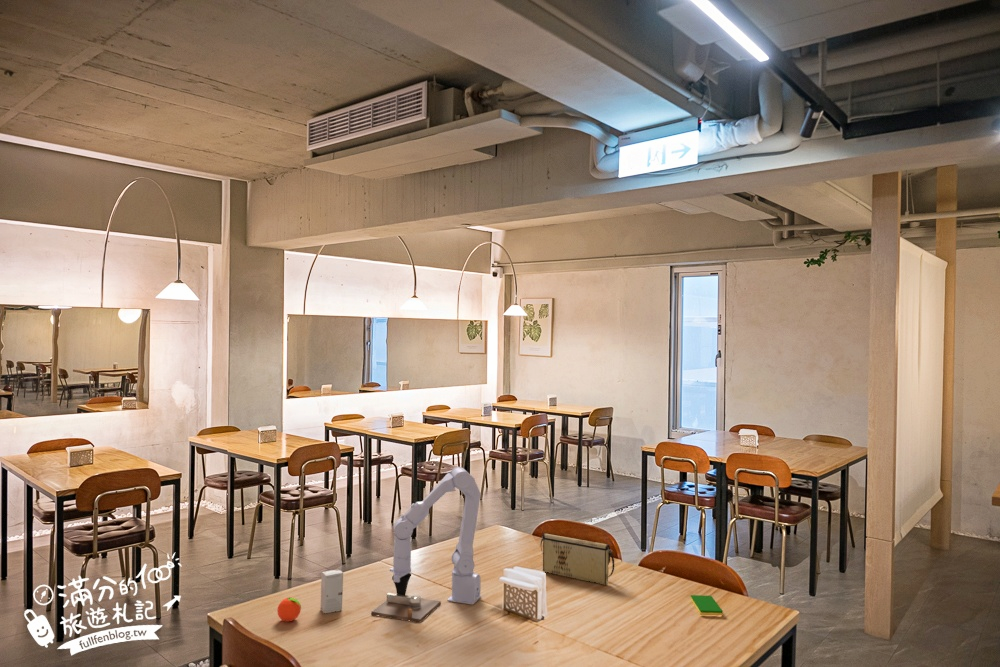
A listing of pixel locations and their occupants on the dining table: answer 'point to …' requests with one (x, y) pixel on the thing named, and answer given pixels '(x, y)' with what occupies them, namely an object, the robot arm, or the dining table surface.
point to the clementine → (289, 609)
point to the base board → (406, 610)
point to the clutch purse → (576, 558)
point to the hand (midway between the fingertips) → (401, 596)
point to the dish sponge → (706, 605)
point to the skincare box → (331, 591)
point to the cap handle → (404, 599)
